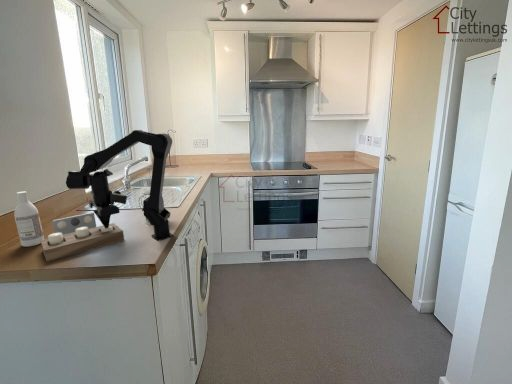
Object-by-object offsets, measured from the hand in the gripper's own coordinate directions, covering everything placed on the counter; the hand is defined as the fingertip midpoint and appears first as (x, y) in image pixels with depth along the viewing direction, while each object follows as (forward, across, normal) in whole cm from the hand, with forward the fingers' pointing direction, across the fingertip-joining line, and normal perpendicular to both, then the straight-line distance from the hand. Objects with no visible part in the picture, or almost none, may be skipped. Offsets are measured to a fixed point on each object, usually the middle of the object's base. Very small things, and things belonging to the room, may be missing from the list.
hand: (106, 227), depth 106 cm
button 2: (+4, 0, 0) cm, 4 cm away
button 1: (+2, 0, +16) cm, 16 cm away
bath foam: (+5, +17, +22) cm, 28 cm away
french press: (+5, +8, -21) cm, 23 cm away
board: (+4, 0, +8) cm, 9 cm away
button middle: (+2, 0, +8) cm, 8 cm away
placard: (+4, +14, +8) cm, 17 cm away
